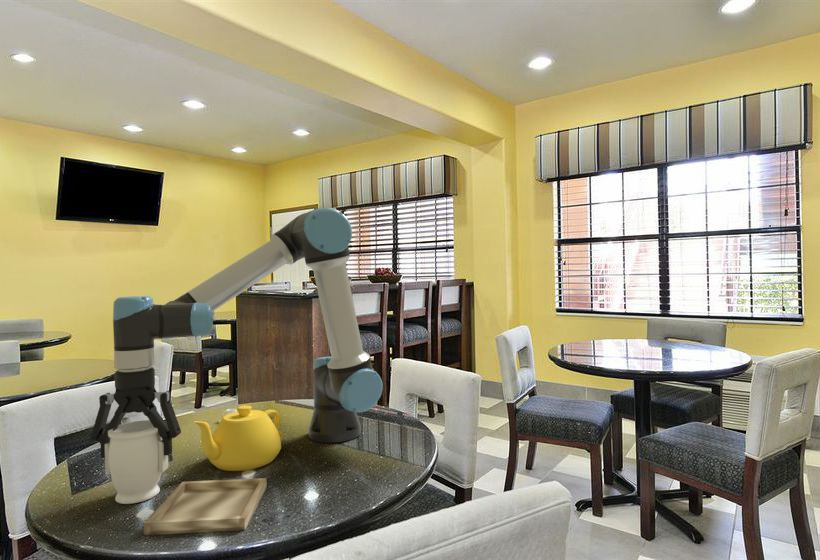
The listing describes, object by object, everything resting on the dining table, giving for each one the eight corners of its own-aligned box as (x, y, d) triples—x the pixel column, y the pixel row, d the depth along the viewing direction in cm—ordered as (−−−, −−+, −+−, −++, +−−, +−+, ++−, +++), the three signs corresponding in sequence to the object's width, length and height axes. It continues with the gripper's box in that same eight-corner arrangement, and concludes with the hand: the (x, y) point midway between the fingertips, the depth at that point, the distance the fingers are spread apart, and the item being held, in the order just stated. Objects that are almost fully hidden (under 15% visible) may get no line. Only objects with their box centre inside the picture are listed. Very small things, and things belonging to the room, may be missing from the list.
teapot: (214, 487, 110) (213, 426, 110) (175, 469, 121) (174, 413, 121) (303, 454, 129) (302, 402, 129) (262, 440, 140) (261, 393, 140)
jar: (140, 509, 100) (138, 435, 100) (97, 505, 102) (95, 433, 102) (175, 486, 110) (174, 420, 110) (135, 483, 112) (133, 418, 112)
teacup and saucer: (251, 419, 163) (251, 406, 163) (238, 426, 155) (237, 413, 155) (228, 417, 165) (228, 405, 165) (213, 425, 157) (213, 412, 157)
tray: (266, 487, 109) (266, 478, 109) (244, 530, 91) (244, 518, 91) (182, 491, 108) (182, 481, 108) (143, 535, 90) (143, 523, 90)
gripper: (196, 363, 110) (198, 462, 110) (89, 366, 109) (92, 466, 109) (182, 370, 103) (185, 475, 103) (68, 373, 101) (71, 480, 101)
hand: (137, 471), depth 106 cm, fingers closed on jar, 10 cm apart
